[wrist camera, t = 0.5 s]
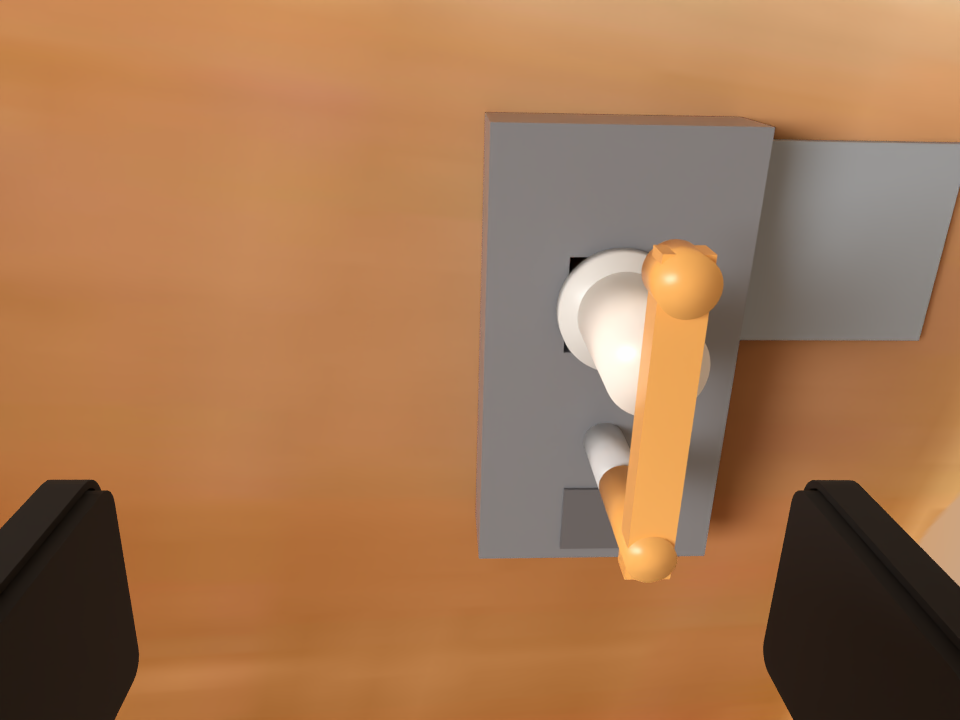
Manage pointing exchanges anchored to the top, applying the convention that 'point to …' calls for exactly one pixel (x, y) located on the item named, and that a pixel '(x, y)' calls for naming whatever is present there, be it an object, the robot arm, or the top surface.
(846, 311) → the mat
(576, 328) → the knob
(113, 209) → the top surface
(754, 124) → the grey slab
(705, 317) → the clip
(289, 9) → the top surface
